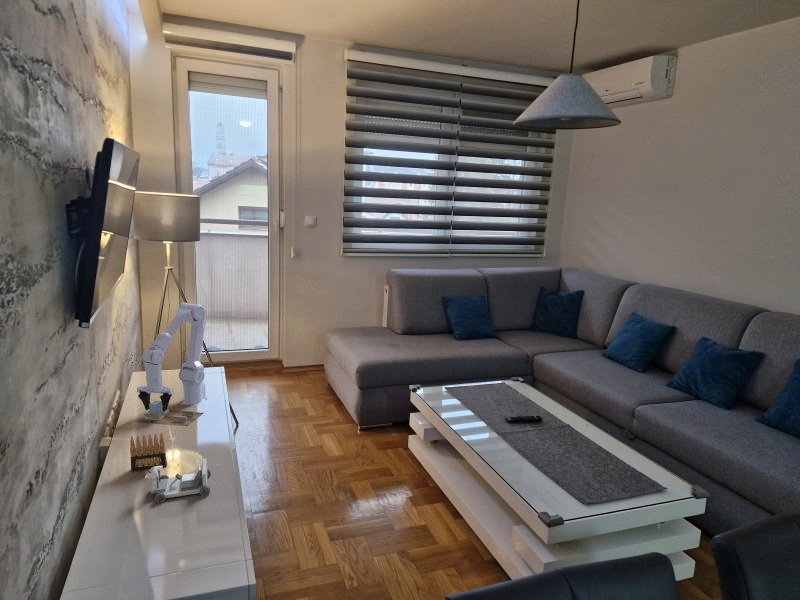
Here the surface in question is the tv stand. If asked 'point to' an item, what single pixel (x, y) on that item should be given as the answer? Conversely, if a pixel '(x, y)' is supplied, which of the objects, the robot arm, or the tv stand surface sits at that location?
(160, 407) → the plug
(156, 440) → the ammunition clip
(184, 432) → the tv stand surface
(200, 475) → the toy car
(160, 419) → the brown tray
